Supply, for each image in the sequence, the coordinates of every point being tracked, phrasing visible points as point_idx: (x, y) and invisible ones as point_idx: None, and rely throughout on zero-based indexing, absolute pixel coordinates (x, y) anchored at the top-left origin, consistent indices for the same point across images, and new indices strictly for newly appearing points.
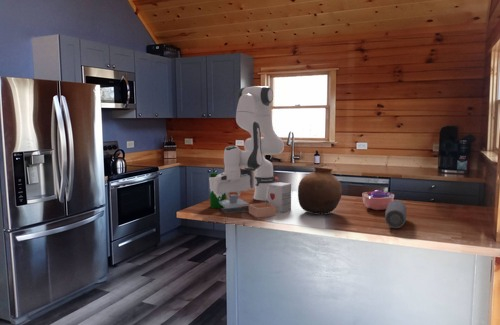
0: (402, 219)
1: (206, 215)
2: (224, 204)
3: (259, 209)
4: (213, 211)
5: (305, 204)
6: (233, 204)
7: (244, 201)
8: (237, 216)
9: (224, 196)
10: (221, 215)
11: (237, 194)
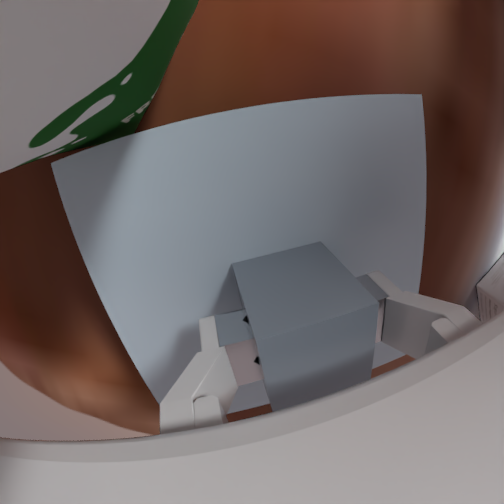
0: None
1: (27, 368)
2: (152, 373)
3: None
4: (42, 254)
5: None
6: (262, 383)
7: (414, 275)
8: (256, 414)
9: (144, 88)
10: (137, 389)
11: (411, 310)
